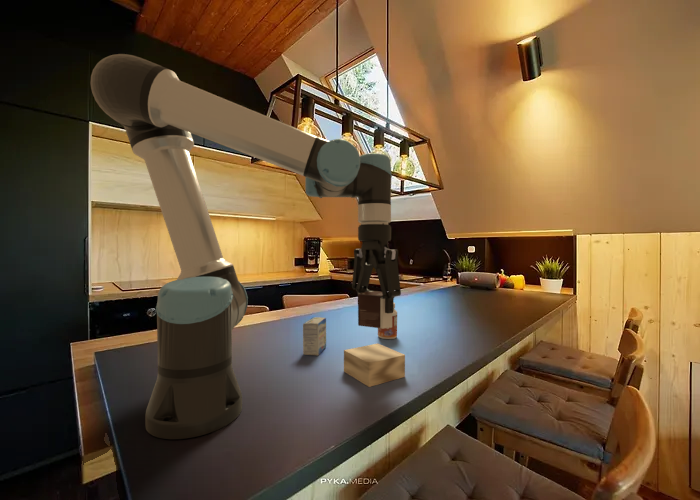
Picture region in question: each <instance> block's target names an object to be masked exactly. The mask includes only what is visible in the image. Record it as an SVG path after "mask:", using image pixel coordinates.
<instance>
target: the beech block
mask: <svg viewBox="0 0 700 500" xmlns="http://www.w3.org/2000/svg"><path fill="white" fill-rule="evenodd" d="M343 372H344V373H346V374H347V375H349V376H350V377H352V378H353V379H355V380H357V381H359V382H360V383H361V384H363V385H365V386H366V387H369V388H371V387H374V386H378V385H381V384H384V383H389V382H391V381H392V382H393V381H396V380H398V379H402V378H405V377H406V354H404V353H402V352H399V351H397V350H395V349H392V348H390V347H387V346H385V345H382V344H380V343H373V344H368V345H363V346H357V347H351V348H348V349H343Z"/></svg>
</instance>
